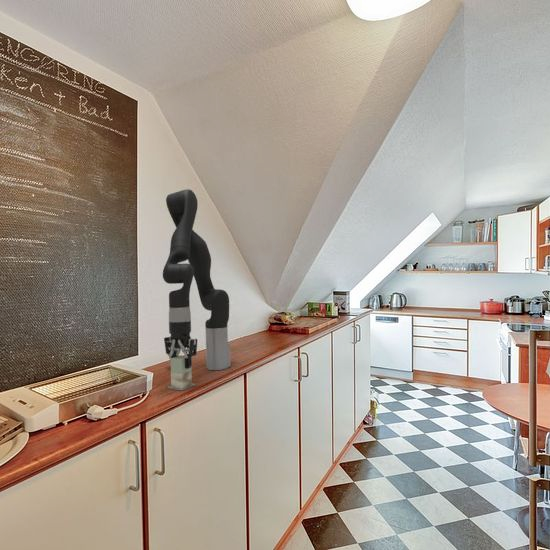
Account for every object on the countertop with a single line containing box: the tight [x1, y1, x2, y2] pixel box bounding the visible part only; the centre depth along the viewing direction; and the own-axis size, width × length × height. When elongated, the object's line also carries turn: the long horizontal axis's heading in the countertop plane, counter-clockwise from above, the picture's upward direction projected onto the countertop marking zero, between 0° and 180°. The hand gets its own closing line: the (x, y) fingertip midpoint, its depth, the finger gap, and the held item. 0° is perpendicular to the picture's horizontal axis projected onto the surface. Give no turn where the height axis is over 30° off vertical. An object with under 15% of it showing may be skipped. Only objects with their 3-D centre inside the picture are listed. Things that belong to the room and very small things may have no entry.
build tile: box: [166, 382, 197, 392], centre depth 125 cm, size 7×7×1 cm
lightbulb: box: [167, 348, 182, 363], centre depth 151 cm, size 6×6×11 cm
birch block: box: [170, 371, 193, 389], centre depth 125 cm, size 5×5×5 cm
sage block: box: [170, 354, 192, 374], centre depth 125 cm, size 5×5×5 cm
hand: (181, 367), depth 125 cm, fingers open, 6 cm apart
